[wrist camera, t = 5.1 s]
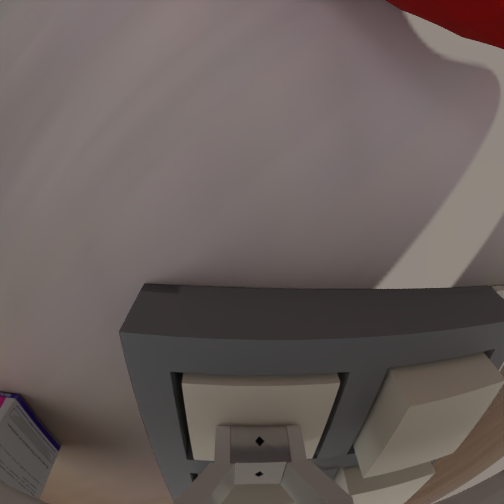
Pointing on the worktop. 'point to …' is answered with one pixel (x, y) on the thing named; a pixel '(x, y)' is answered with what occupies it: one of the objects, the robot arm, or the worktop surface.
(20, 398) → the supplement box
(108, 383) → the worktop surface
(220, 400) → the button
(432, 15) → the tomato
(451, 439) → the button
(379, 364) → the button board
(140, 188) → the worktop surface
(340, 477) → the button
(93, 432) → the worktop surface
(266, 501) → the button
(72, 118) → the worktop surface
